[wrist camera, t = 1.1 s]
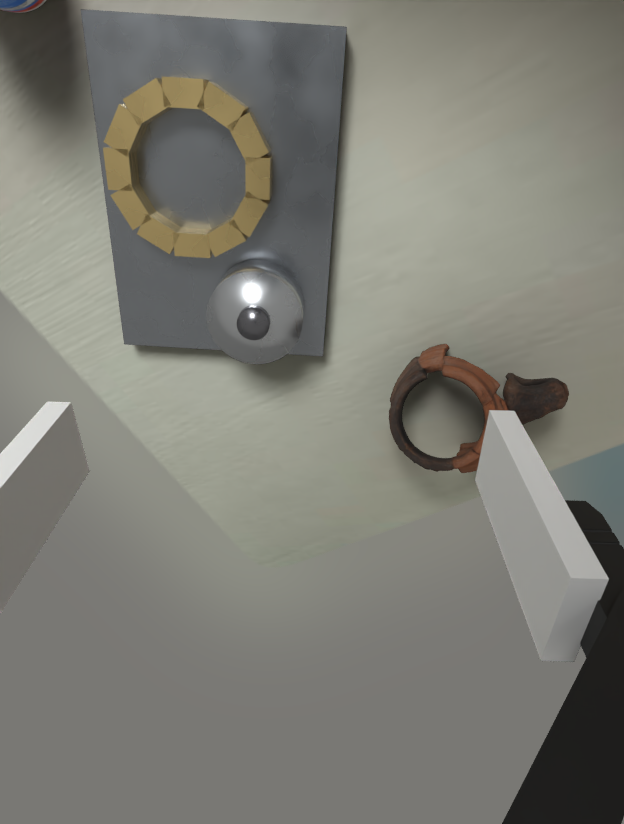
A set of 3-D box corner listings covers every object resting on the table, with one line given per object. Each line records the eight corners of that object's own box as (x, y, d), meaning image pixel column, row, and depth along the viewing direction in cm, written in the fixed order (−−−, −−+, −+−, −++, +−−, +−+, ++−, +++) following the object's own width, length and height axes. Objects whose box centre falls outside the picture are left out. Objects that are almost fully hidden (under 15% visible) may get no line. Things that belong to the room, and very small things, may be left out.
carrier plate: (92, 13, 30) (48, -3, 25) (345, 30, 30) (349, 17, 25) (131, 335, 39) (105, 367, 34) (323, 347, 39) (322, 380, 35)
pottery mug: (433, 467, 45) (404, 500, 38) (394, 361, 45) (357, 374, 38) (586, 427, 39) (586, 457, 32) (542, 305, 39) (532, 308, 32)
